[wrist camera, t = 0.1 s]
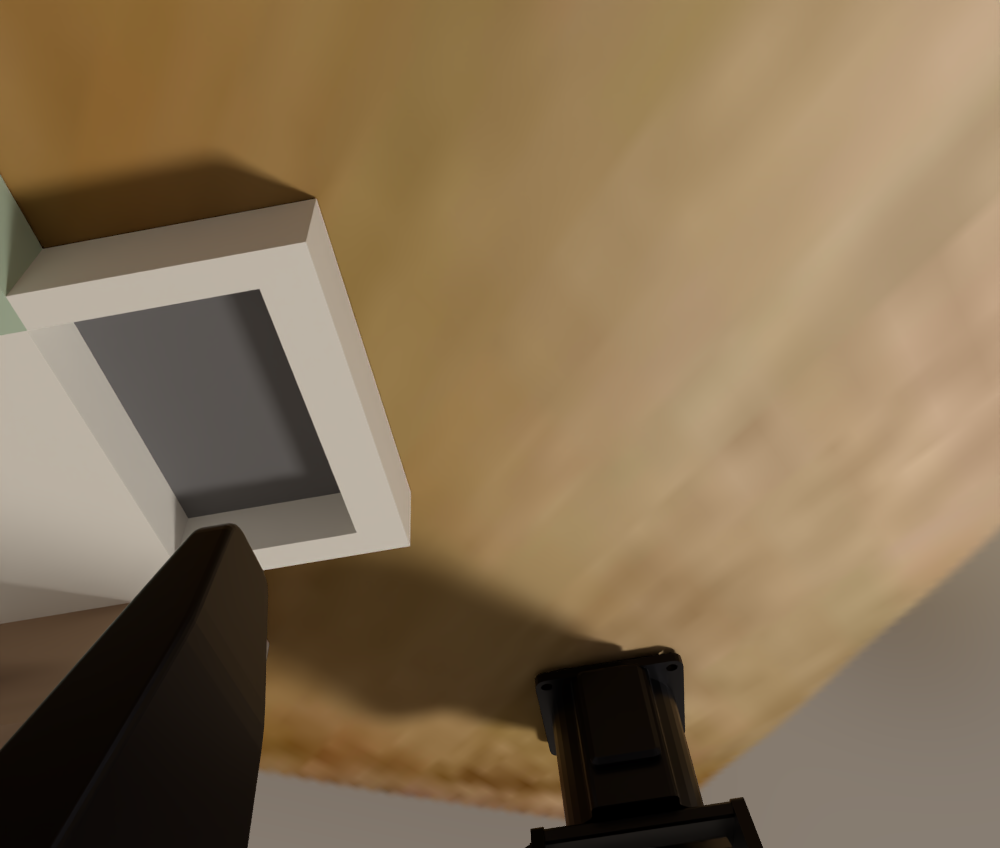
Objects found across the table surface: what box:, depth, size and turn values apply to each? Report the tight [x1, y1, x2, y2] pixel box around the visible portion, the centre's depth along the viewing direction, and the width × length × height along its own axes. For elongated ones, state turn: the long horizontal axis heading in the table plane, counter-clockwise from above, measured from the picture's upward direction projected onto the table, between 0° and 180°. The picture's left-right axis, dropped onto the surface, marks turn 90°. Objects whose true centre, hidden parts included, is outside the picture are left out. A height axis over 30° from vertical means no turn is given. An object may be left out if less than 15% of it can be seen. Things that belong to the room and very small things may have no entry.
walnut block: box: [0, 603, 129, 749], centre depth 27 cm, size 5×5×4 cm
